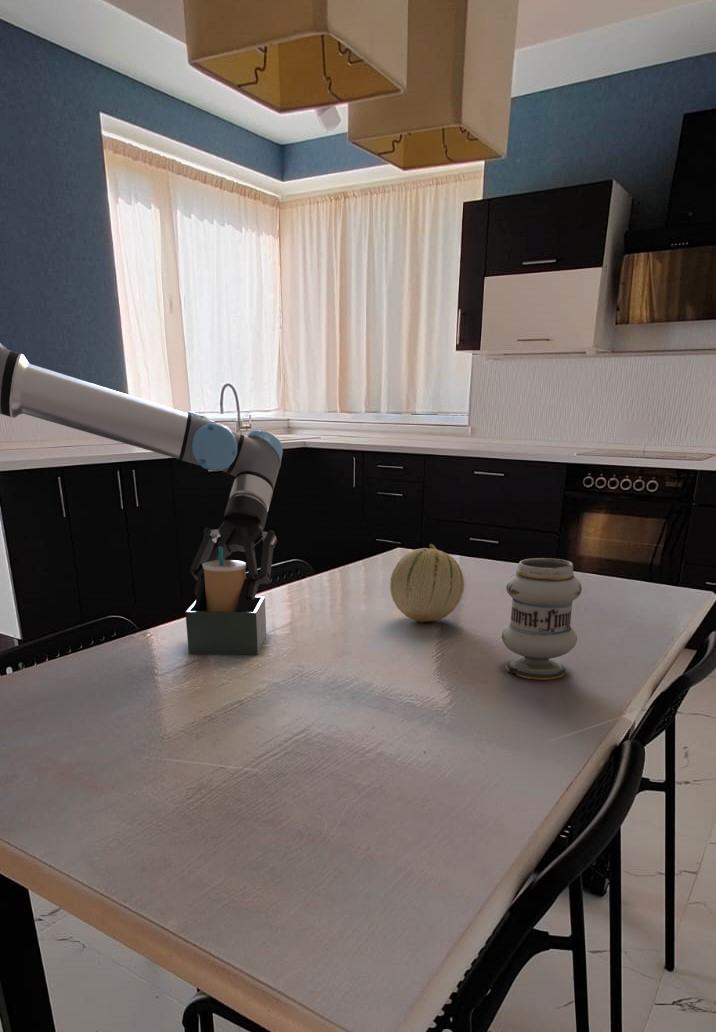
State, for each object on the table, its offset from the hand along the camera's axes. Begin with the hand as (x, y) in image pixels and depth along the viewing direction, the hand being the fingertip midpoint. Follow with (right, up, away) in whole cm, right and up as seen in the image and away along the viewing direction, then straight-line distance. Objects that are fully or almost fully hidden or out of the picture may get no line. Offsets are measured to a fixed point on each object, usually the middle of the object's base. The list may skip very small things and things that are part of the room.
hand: (219, 613), depth 135 cm
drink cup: (+1, -2, +5) cm, 5 cm away
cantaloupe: (+38, +2, +23) cm, 44 cm away
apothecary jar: (+54, -11, -6) cm, 56 cm away
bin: (+1, -5, +6) cm, 8 cm away
